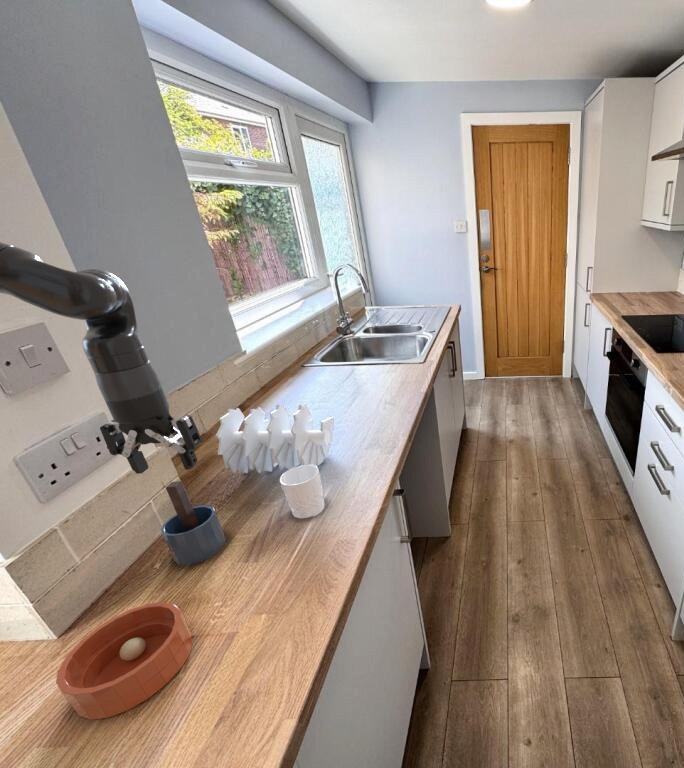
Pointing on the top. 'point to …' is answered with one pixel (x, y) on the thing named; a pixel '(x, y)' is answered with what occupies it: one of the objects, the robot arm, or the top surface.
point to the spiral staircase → (272, 440)
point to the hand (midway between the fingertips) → (167, 469)
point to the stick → (182, 505)
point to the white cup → (303, 490)
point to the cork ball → (132, 649)
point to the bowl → (120, 677)
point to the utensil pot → (194, 537)
